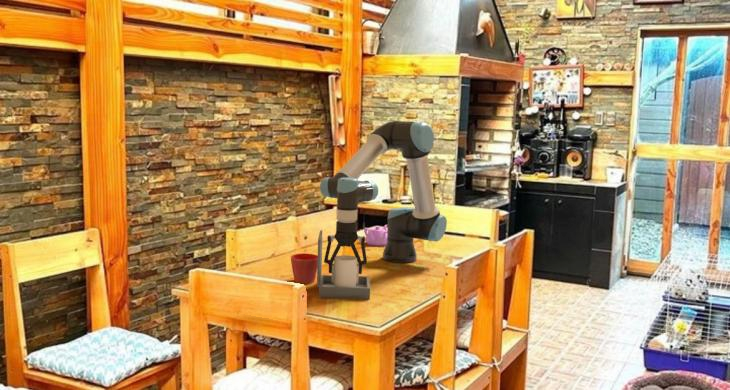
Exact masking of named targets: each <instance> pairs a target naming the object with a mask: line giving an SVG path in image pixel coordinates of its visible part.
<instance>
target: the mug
mask: <svg viewBox="0 0 730 390" xmlns="http://www.w3.org/2000/svg"><path fill="white" fill-rule="evenodd" d="M333 264H334V286H335V287H355V286H356V281H357V264H358V261H357V258H356V257H355V255H344V254H343V255H336V257H334V261H333Z"/></svg>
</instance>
